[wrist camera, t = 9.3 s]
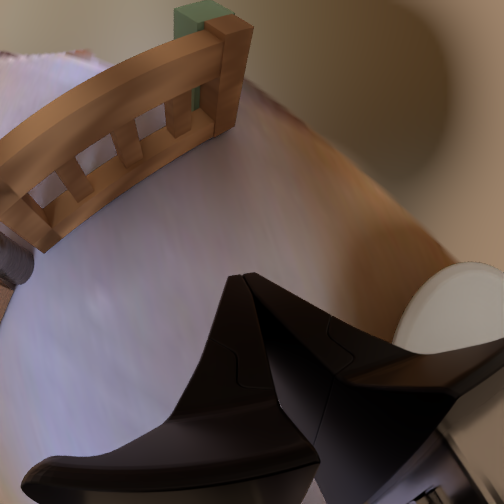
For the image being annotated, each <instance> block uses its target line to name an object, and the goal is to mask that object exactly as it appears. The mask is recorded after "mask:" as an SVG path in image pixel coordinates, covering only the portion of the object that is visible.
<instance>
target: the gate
mask: <svg viewBox="0 0 504 504" xmlns="http://www.w3.org/2000/svg"><path fill="white" fill-rule="evenodd" d="M253 29H254V26H252V25H250V24H248V23H247V22H245V21H244V20H242V19H240V18H239V17H237V16H235V15H234V14H229V15H225V16H221V17H217V18H214V19H210V20H207V21H204V30H201V31H198V32H195V33H192V34H189V35H186V36H183V37H180V38H178V39H175V40H172V41H170V42H167V43H165V44H162V45H159V46H157V47H155V48H152V49H150V50H147V51H145V52H143V53H140V54H138V55H136V56H134V57H132V58H130V59H127V60H125V61H123V62H121V63H119V64H117V65H115V66H113V67H111V68H109V69H107V70H105V71H103V72H101V73H99V74H97V75H96V76H94V77H92V78H90V79H88V80H86V81H85V82H83V83H81V84H79V85H78V86H76V87H74V88H73V89H71V90H69V91H68V92H66V93H65V94H63V95H61V96H60V97H58V98H57V99H55V100H54V101H52V102H50V103H49V104H47V105H46V106H44V107H43V108H42V109H40V110H39V111H37V112H36V113H34V114H33V115H32V116H30V117H29V118H27V119H26V120H25V121H23V122H22V123H21V124H19V125H18V126H17V127H16V128H14V129H13V130H12V131H10V132H9V133H8V134H7V135H5V136H4V137H3V138H2V139H1V140H0V221H1V222H2V223H3V224H5V225H6V226H7V227H9V228H10V229H11V230H12V231H14V232H15V233H16V234H18V235H19V236H20V237H22V238H23V239H24V240H26V241H27V242H29V243H30V244H31V245H33V246H34V247H35V248H37V249H38V250H40V251H41V252H42V253H45V252H47V251H48V250H49V249H50V248H51V247H53V246H54V245H55V244H56V243H57V242H59V241H60V240H61V239H62V238H64V237H65V236H66V235H67V234H68V233H70V232H71V231H72V230H74V229H75V228H76V227H77V226H79V225H80V224H81V223H83V222H84V221H85V220H86V219H88V218H89V217H90V216H92V215H93V214H94V213H96V212H97V211H98V210H100V209H101V208H103V207H104V206H105V205H107V204H108V203H109V202H111V201H112V200H114V199H115V198H117V197H118V196H119V195H121V194H122V193H124V192H125V191H127V190H128V189H129V188H131V187H132V186H134V185H135V184H137V183H138V182H140V181H141V180H143V179H144V178H146V177H147V176H149V175H150V174H152V173H154V172H155V171H157V170H158V169H160V168H161V167H163V166H165V165H166V164H168V163H169V162H171V161H173V160H174V159H176V158H177V157H179V156H181V155H182V154H184V153H186V152H187V151H189V150H191V149H193V148H194V147H196V146H198V145H199V144H201V143H203V142H205V141H206V140H208V139H210V138H212V137H216V136H218V135H220V134H221V133H223V132H225V131H227V130H229V129H231V128H232V127H234V126H235V121H236V116H237V110H238V105H239V99H240V94H241V89H242V84H243V78H244V73H245V68H246V63H247V58H248V53H249V48H250V43H251V39H252V34H253ZM197 86H200V102H199V109H197V110H195V111H193V112H191V94H192V89H193V88H195V87H197ZM162 103H164V107H165V117H166V126H165V127H163V128H161V129H159V130H158V131H156V132H154V133H152V134H151V135H149V136H147V137H146V138H144V139H142V140H140V141H139V137H138V133H137V128H136V124H135V118H136V117H138V116H140V115H142V114H144V113H145V112H147V111H149V110H151V109H153V108H155V107H157V106H158V105H160V104H162ZM109 133H110V134H111V137H112V140H113V143H114V146H115V149H116V151H117V154H118V155H116V156H115V157H113V158H112V159H110V160H109V161H107V162H106V163H104V164H103V165H101V166H100V167H98V168H97V169H95V170H94V171H93V172H91V173H90V174H88V175H87V176H85V174H84V172H83V171H82V169H81V167H80V165H79V163H78V162H77V160H76V158H75V156H76V155H77V154H79V153H80V152H82V151H83V150H85V149H86V148H88V147H89V146H91V145H92V144H94V143H95V142H97V141H98V140H100V139H101V138H103V137H105V136H106V135H108V134H109ZM54 171H55V172H56V173H57V175H58V176H59V178H60V179H61V180H62V182H63V183H64V185H65V186H66V188H67V189H68V190H66V191H65V192H64V193H62V194H61V195H60V196H59V197H57V198H56V199H55V200H53V201H52V202H51V203H50V204H48V205H47V206H46V207H45V208H43V209H42V208H41V207H40V206H39V205H38V204H37V203H36V202H35V201H34V199H33V198H32V197H31V196H30V195H29V194H28V193H27V192H28V191H30V190H31V189H32V188H33V187H35V186H36V185H37V184H38V183H40V182H41V181H42V180H43V179H45V178H46V177H47V176H49V175H50V174H51V173H52V172H54Z"/></svg>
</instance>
